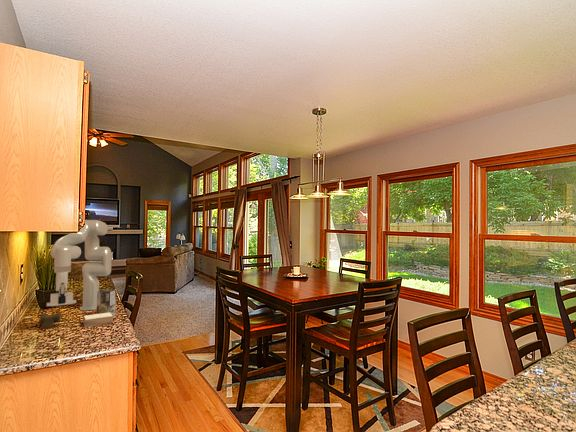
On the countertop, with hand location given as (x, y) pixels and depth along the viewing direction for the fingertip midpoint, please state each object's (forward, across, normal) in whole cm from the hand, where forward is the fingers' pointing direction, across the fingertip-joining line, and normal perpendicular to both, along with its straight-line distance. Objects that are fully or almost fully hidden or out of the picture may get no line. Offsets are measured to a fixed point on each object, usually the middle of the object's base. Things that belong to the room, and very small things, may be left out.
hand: (61, 301), depth 177 cm
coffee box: (+15, -15, +24) cm, 32 cm away
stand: (+15, -1, +18) cm, 23 cm away
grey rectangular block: (+15, -15, -5) cm, 22 cm away
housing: (+1, 0, 0) cm, 1 cm away
